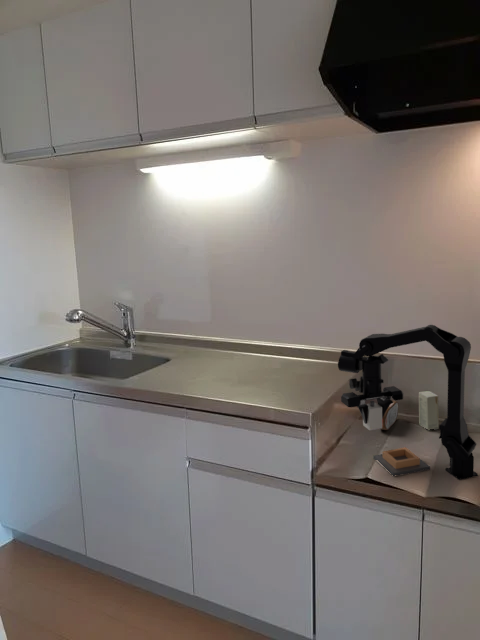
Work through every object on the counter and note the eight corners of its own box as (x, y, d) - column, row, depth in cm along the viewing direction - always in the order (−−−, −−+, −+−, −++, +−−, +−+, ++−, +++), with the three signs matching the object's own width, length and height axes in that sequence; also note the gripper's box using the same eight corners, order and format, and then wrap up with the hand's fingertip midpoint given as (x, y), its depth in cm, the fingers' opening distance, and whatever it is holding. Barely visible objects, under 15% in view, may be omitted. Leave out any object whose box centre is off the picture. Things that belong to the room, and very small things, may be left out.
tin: (391, 417, 193) (391, 396, 192) (399, 419, 191) (399, 397, 190) (377, 432, 181) (377, 410, 179) (386, 434, 179) (386, 411, 178)
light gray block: (382, 428, 163) (382, 402, 162) (369, 430, 163) (369, 404, 161) (375, 423, 168) (375, 398, 166) (363, 425, 167) (362, 400, 165)
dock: (429, 469, 154) (429, 460, 153) (393, 476, 151) (392, 466, 150) (408, 452, 165) (407, 443, 164) (373, 458, 162) (373, 449, 162)
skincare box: (439, 429, 180) (439, 396, 178) (427, 431, 180) (427, 397, 177) (429, 422, 186) (429, 390, 184) (418, 424, 186) (418, 391, 183)
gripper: (386, 364, 171) (386, 409, 174) (333, 371, 167) (334, 417, 170) (404, 373, 161) (404, 421, 164) (348, 381, 157) (349, 430, 160)
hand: (372, 422), depth 165 cm, fingers closed on light gray block, 4 cm apart
